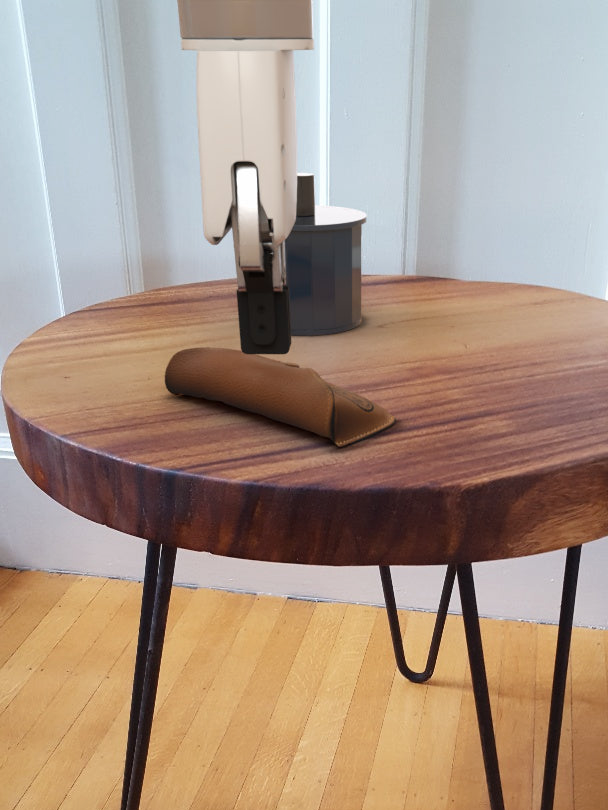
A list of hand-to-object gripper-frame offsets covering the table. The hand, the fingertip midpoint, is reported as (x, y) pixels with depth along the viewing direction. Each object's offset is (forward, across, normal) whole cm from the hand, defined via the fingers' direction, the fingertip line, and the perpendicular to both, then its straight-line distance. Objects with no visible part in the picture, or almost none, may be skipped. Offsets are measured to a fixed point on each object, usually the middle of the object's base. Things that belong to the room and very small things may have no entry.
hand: (266, 350), depth 64 cm
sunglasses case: (+7, -8, 0) cm, 11 cm away
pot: (+7, -37, 0) cm, 37 cm away
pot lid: (-2, -36, 0) cm, 37 cm away
